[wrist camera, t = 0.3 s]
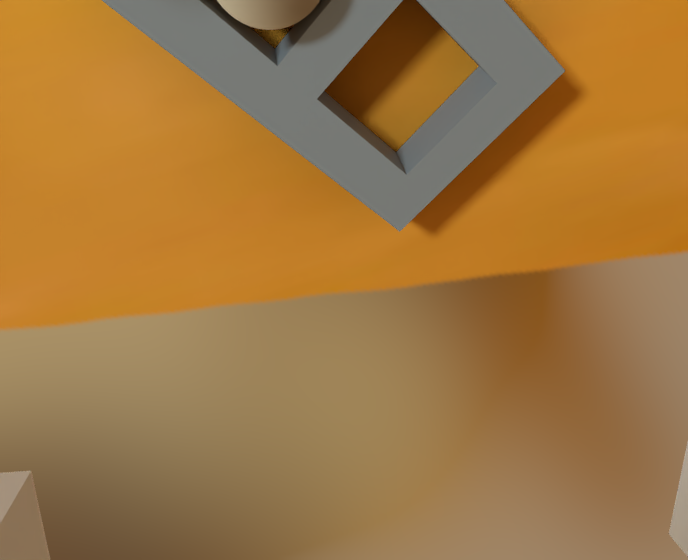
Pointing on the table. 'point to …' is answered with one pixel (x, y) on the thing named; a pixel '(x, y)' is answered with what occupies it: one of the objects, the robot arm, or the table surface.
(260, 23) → the wooden plug
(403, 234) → the table surface
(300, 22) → the jig plate
